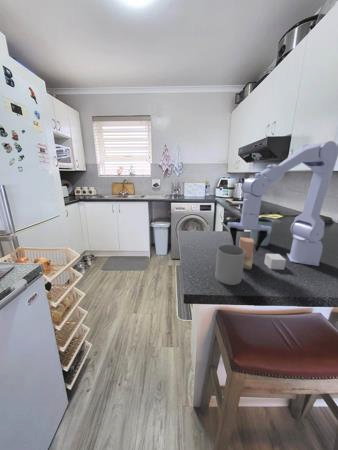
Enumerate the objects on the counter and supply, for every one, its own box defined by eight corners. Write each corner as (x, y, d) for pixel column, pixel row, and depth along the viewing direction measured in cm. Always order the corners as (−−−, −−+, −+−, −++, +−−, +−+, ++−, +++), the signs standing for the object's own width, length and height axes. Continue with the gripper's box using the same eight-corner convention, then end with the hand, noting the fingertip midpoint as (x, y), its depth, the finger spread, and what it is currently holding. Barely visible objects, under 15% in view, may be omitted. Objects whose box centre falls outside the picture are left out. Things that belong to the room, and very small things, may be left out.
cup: (221, 268, 68) (224, 242, 66) (244, 276, 63) (248, 249, 61) (210, 278, 62) (213, 250, 59) (235, 288, 57) (239, 257, 54)
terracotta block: (250, 253, 73) (252, 238, 71) (251, 258, 69) (254, 242, 67) (238, 251, 74) (240, 237, 73) (238, 256, 70) (240, 241, 68)
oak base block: (251, 263, 74) (253, 253, 73) (251, 270, 68) (252, 260, 67) (235, 260, 76) (236, 250, 75) (233, 266, 71) (235, 256, 70)
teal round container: (264, 248, 88) (268, 223, 85) (243, 242, 96) (247, 218, 92) (273, 243, 95) (277, 220, 91) (253, 237, 102) (256, 216, 99)
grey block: (277, 263, 74) (279, 254, 73) (284, 269, 69) (286, 259, 68) (264, 263, 74) (265, 253, 73) (270, 269, 69) (272, 259, 68)
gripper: (271, 212, 68) (265, 247, 72) (229, 209, 73) (225, 242, 76) (275, 216, 62) (268, 254, 65) (228, 212, 66) (224, 248, 70)
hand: (245, 248), depth 70 cm, fingers open, 7 cm apart
